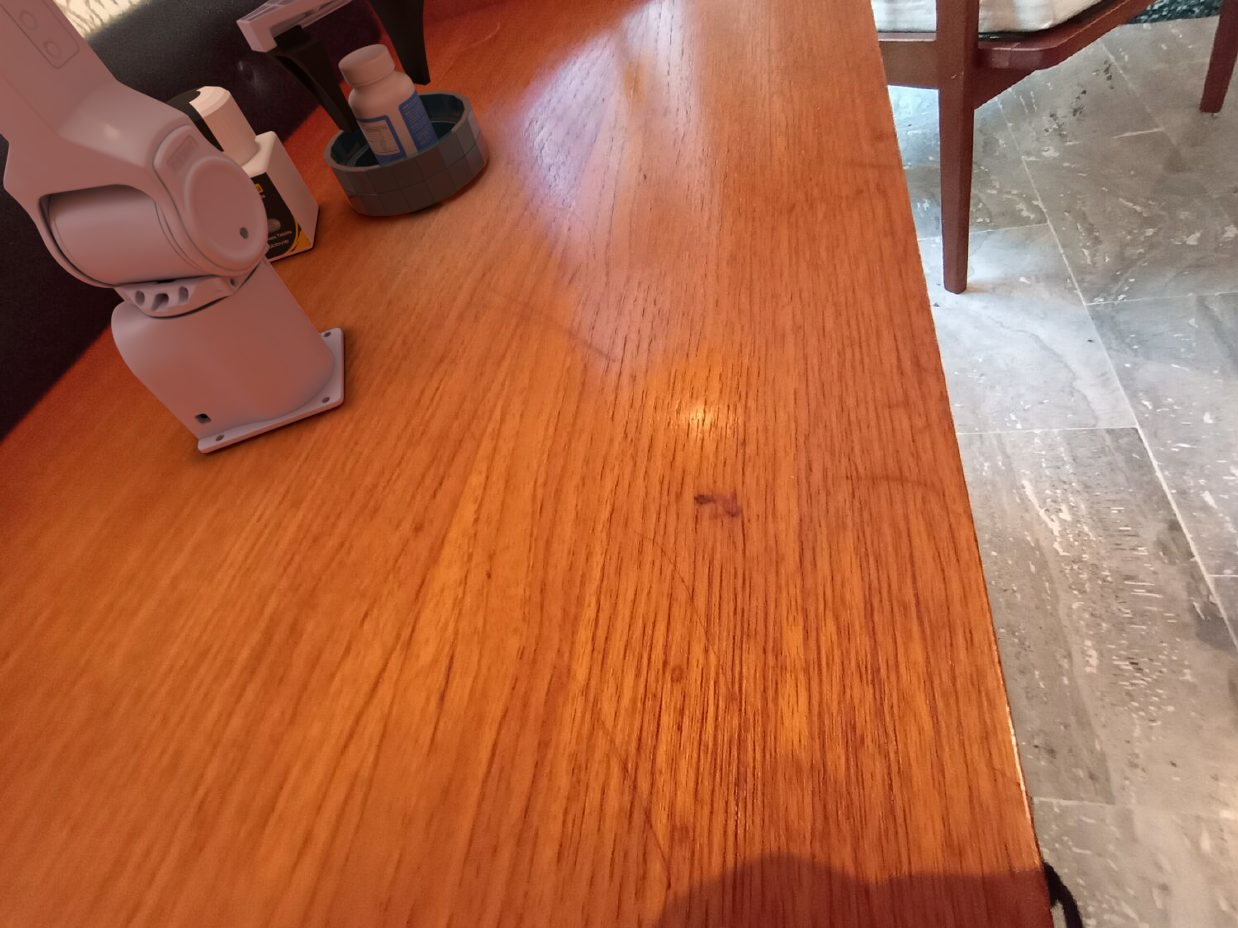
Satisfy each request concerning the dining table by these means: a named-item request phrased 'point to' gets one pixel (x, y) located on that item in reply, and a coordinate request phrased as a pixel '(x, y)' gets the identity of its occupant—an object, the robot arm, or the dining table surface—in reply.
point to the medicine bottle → (257, 167)
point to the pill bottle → (386, 104)
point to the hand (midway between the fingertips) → (386, 105)
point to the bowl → (411, 161)
